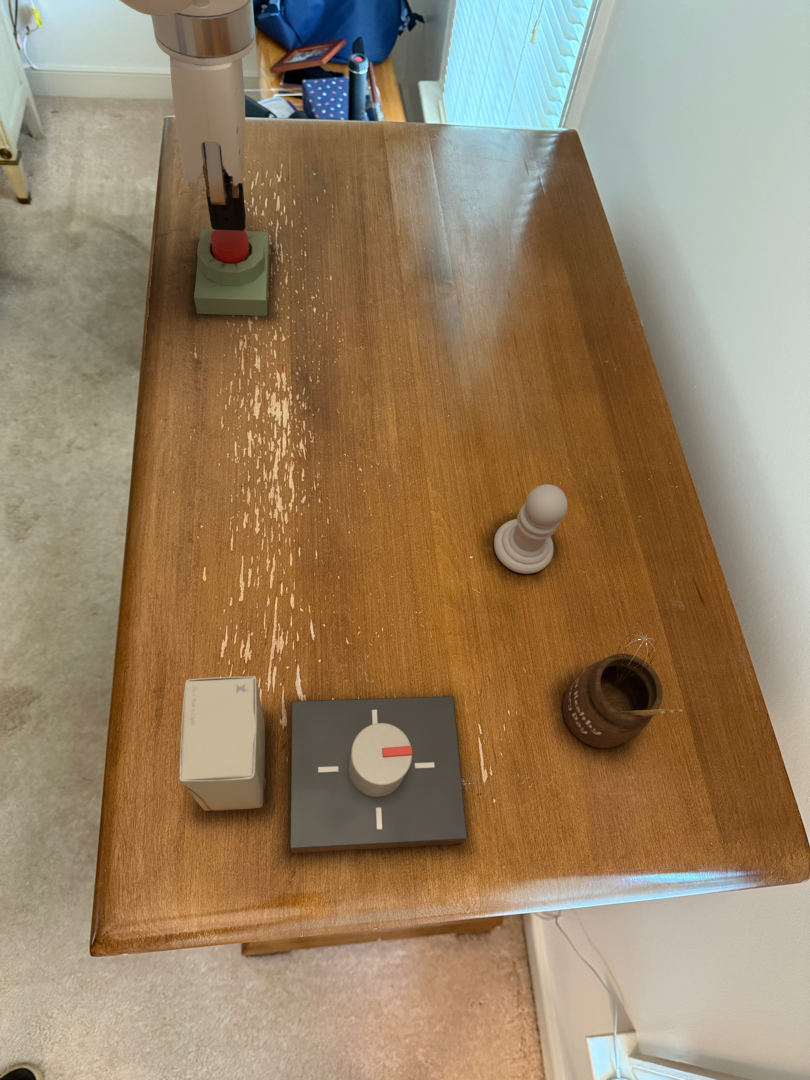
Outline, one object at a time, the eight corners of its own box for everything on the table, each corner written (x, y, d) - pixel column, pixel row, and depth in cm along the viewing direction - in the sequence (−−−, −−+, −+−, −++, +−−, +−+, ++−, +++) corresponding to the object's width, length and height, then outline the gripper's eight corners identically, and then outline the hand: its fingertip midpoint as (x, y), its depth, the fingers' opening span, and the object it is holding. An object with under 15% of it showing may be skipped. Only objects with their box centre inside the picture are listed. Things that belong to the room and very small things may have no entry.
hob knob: (350, 799, 51) (353, 786, 46) (346, 741, 53) (349, 723, 48) (407, 794, 51) (415, 781, 47) (402, 736, 53) (409, 719, 49)
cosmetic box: (207, 726, 55) (182, 674, 44) (268, 723, 56) (257, 671, 45) (203, 815, 52) (174, 782, 41) (266, 811, 53) (255, 778, 42)
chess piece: (537, 516, 67) (566, 460, 59) (561, 567, 65) (595, 515, 57) (483, 530, 66) (506, 474, 58) (506, 582, 63) (533, 531, 56)
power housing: (196, 314, 74) (191, 283, 71) (203, 245, 79) (198, 213, 76) (267, 316, 75) (264, 285, 72) (269, 248, 80) (267, 217, 76)
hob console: (291, 853, 51) (289, 848, 49) (292, 712, 56) (291, 700, 53) (459, 844, 53) (467, 838, 50) (447, 707, 58) (454, 695, 55)
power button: (211, 263, 73) (209, 249, 71) (214, 238, 75) (211, 224, 73) (248, 265, 73) (247, 250, 72) (250, 240, 75) (248, 226, 74)
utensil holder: (621, 673, 61) (685, 616, 50) (642, 750, 58) (715, 707, 47) (552, 680, 60) (603, 624, 49) (571, 759, 57) (629, 717, 46)
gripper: (161, -38, 58) (194, 172, 74) (140, 71, 51) (183, 278, 67) (257, -30, 59) (270, 176, 75) (250, 78, 52) (266, 281, 68)
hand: (229, 224), depth 71 cm, fingers closed
